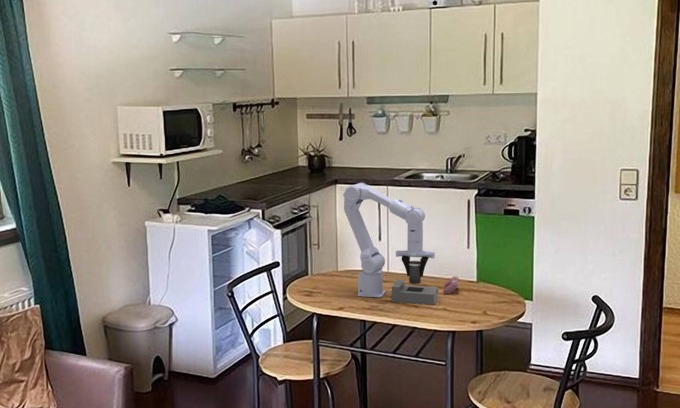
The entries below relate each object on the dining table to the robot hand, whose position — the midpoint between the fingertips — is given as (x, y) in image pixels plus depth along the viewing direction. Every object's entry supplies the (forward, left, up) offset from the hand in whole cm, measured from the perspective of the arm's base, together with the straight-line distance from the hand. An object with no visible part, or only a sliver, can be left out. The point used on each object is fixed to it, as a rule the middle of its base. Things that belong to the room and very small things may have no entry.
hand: (415, 275), depth 264 cm
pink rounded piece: (+12, +15, -10) cm, 21 cm away
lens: (0, 0, -2) cm, 3 cm away
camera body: (0, 0, -9) cm, 9 cm away
